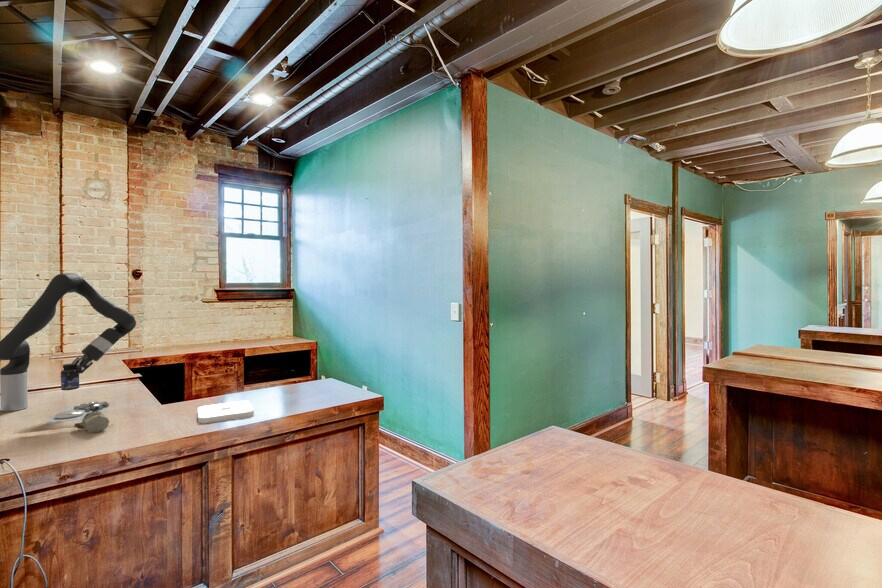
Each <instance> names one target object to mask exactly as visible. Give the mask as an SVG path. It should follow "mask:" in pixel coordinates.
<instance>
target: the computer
mask: <svg viewBox="0 0 882 588" xmlns="http://www.w3.org/2000/svg"><path fill="white" fill-rule="evenodd" d="M251 403H252V402H250V401H249V400H239V401H230V402H224V403H215V404H208V405H202V406H198V408H197V422H198V423H199V424H207V423H217V422H223V421H231V420H237V419H243V418H250V417H253V416H254V414H255V411H254V407H253V405H252V404H251Z"/></svg>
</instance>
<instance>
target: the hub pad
mask: <svg viewBox="0 0 882 588" xmlns="http://www.w3.org/2000/svg"><path fill="white" fill-rule="evenodd" d="M60 412H61V411H60ZM60 412H57V413H56V414H54V416H55V418H56V419H68V418H74V417H79V416H82V415H84V414H85V410H70V411H65V412H61V413H60Z"/></svg>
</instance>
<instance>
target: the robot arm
mask: <svg viewBox="0 0 882 588" xmlns="http://www.w3.org/2000/svg"><path fill="white" fill-rule="evenodd" d="M68 293H69V294H71V293H75V294H78V295H80V296H82V297H83V298H84V299H86V300H87V301H88V303H89V305H90V306H91V307H92V308H93V310H94V311H96V312H97V313H98V314H100V315H102V316H103V317H105V318H107V319H109V320H111V321H113V322H115V323H116V325H114V326H113V327H109V328H106V329H105V330H103V332H102V333H100V335H98V336H97V337H95V339H93V340H92V341H91V342H90V343H89V344H88V345H86V347H84V348H83V349H82V350H81V353H82V354H83V355H82V356H80V357H79V356H78V357H76V358H75V359H74V360H73V361H72V362H71V363H70V364H72V363H76V364H77V365H76V368H75V369H74V372H73V371H72V372H71V373H70V374H69V375H68V376H67V377H66V379H67V380H69V381H71V380H72V379H73V378H75V377H76V376H77V375H78V374H79V375H80V374H83V373H84V372H85V371H86V370H87V369H88V368H90V367H91V366H92V365H93V364H94V362H98V361H99V360H100V359H102V357H103V356H105V354H106V353H108V352H109V351H110V350H111V349H112V347H113V346H114V345H115V344H116V343H118V341H119V340H120V339H121V338H123V337H125V336H126V335H128V334H129V333H130V332H132V331H133V330H134V329H135V327H136V326H137V321H136V318H135V316H134V315H133V314H132V313H131V312H129V311H128V310H127V309H124V308H123V307H120V306H118V305H117V304H115V303H114V302H113V301H111V300H110V299H108V298H106V297H105V296H104V295H102V294H101V293H100V292H99V291H98V290H97V289H96V288H94V287H93V286H92V285H91V284H90V283H89V282H88V281H87V280H86V279H85V278H83V276H81V274H79V273H73V272H72V273H71V272H69V273H65V272H64V273H59V274H57V275H55V276H54V277H53V278H52V279H51V281H50V282H49V283H48V285H47V286H46V288H45V290H44V291H43V293H42V294H41V295H40V296H39V298H38V299H37V300H36V301H35V303H34V304H33V305H32V306H31V307H30V308H29V309H28V310H27V312H26V313H24V314H23V315H24V316H23V317H22V318H21V319H20V320H19V321H18V323H17V324H15V326H14V327H13V328H12V330H10V331H9V332H8V333H7V334H6V335H5V336H4V337H3V338H2V339H1V340H0V361H9V362H8V363H7V364H6V365H4V366H3V367H1V368H0V411H1V412H15V411H20V410H24V409H26V408H28V407H29V403H28V402H29V401H28V400H29V399H28V398H29V397H28V396H29V395H28V394H29V393H28V391H29V390H28V388H29V387H28V368H29V366H30V357H31V356H30V355H31V348H30V344H29V343H28V341H27V339H28V338H30V337H31V336H33V335H35V334H37V333H38V332H40V331H42V330H43V329H44V328H45V327H46V326H48V324H49V323H50V322H51V321H52V320H53V318H54V317H55V316H56V311H57V305H58V303H59V302H60V300H61V299H62V298H63V297H64V296H65V295H66V294H68ZM93 361H94V362H93Z"/></svg>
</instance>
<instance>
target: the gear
mask: <svg viewBox="0 0 882 588" xmlns="http://www.w3.org/2000/svg"><path fill="white" fill-rule="evenodd" d="M109 404H110V403H109V402H108V401H101V402H98V401H90V402H88V403H81V404H79V405H75V406H73V408H74V410H85V412H89V411H91V410H94V409H96V410H100V409H103V407H107V408H108V407H109V406H110V405H109Z"/></svg>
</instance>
